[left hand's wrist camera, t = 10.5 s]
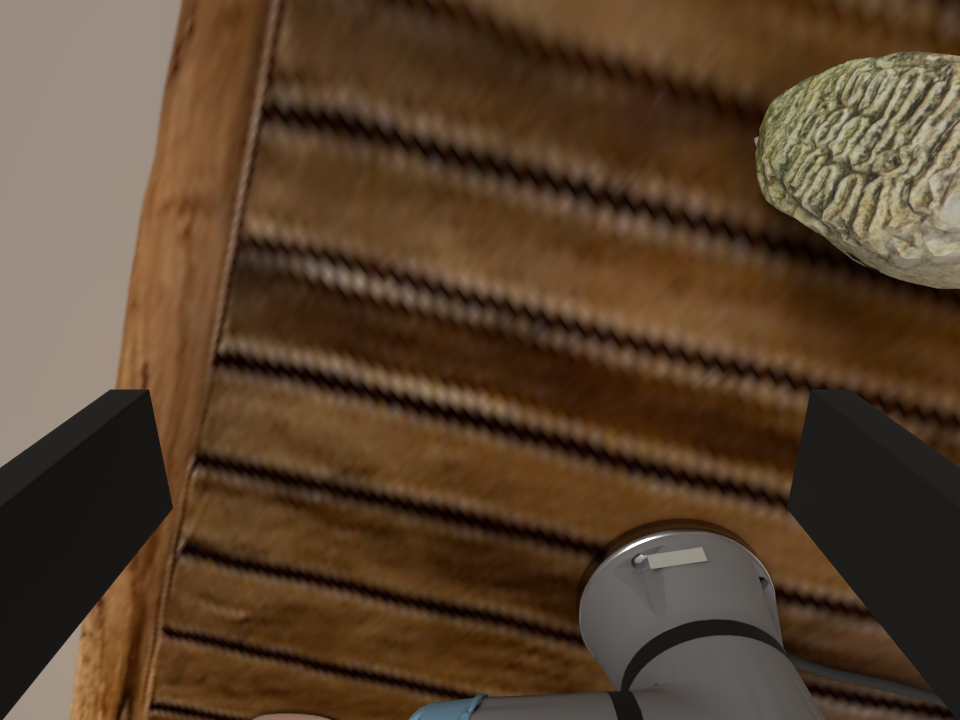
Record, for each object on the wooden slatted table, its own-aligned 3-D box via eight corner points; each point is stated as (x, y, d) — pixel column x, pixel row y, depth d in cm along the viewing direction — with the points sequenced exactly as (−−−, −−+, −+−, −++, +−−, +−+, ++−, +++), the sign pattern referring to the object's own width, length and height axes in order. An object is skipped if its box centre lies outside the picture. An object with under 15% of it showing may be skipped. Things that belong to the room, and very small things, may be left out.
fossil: (766, 49, 37) (945, 1, 22) (1022, 174, 39) (1327, 201, 25) (692, 194, 39) (809, 231, 25) (934, 302, 42) (1164, 390, 28)
